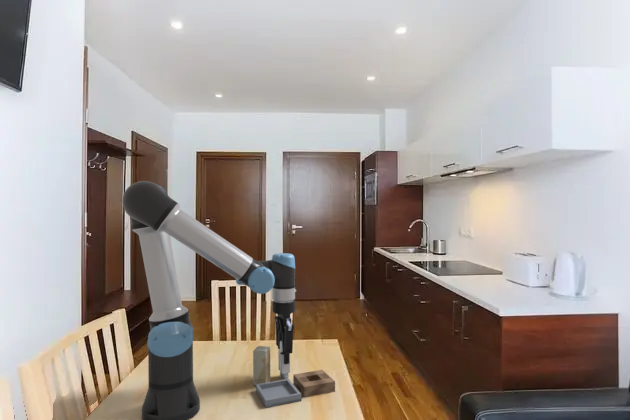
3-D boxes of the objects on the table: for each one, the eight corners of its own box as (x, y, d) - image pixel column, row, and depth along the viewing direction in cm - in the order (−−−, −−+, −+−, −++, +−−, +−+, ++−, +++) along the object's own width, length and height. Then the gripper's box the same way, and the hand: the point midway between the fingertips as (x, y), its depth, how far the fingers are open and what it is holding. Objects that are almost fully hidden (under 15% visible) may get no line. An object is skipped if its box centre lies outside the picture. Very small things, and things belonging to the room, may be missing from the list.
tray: (265, 407, 115) (265, 400, 115) (255, 390, 126) (255, 384, 126) (301, 400, 119) (301, 393, 119) (288, 385, 130) (288, 378, 130)
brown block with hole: (304, 397, 121) (304, 387, 121) (293, 383, 131) (293, 374, 131) (335, 391, 125) (335, 381, 125) (322, 378, 134) (322, 369, 134)
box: (265, 386, 129) (265, 351, 129) (252, 385, 130) (252, 350, 130) (270, 379, 134) (270, 346, 134) (258, 378, 135) (258, 345, 135)
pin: (281, 379, 134) (281, 343, 134) (278, 376, 136) (278, 340, 136) (289, 378, 135) (289, 341, 135) (286, 375, 138) (286, 339, 138)
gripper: (302, 304, 130) (303, 378, 130) (287, 294, 144) (287, 361, 144) (280, 306, 127) (280, 382, 127) (266, 296, 142) (266, 364, 142)
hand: (284, 370), depth 136 cm, fingers closed on pin, 3 cm apart
